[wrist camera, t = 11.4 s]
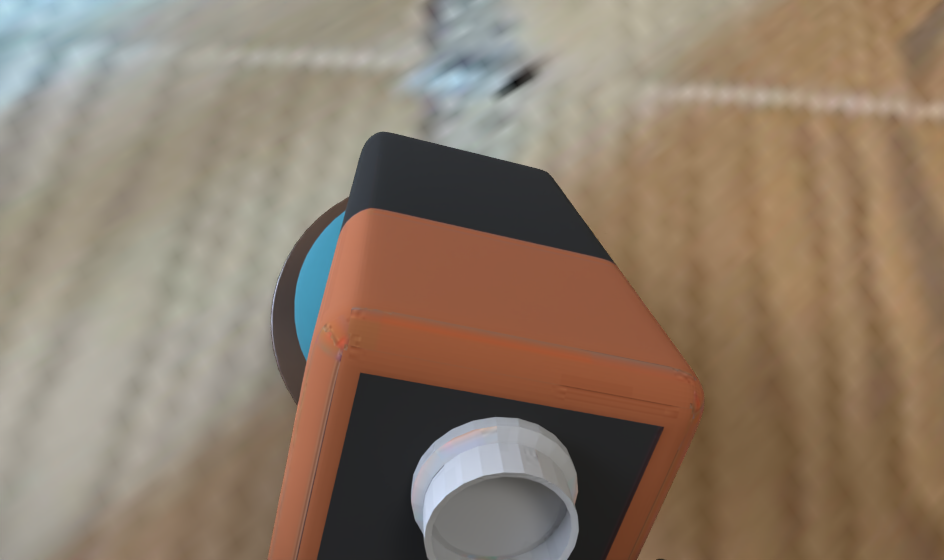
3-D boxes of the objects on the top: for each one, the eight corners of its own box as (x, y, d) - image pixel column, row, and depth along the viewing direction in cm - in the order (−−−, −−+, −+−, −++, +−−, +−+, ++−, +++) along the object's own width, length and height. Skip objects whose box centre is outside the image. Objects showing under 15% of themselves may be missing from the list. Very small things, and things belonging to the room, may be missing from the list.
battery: (312, 387, 17) (205, 853, 8) (366, 122, 15) (300, 360, 6) (480, 416, 18) (555, 870, 9) (558, 168, 15) (778, 446, 6)
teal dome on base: (552, 462, 23) (599, 465, 16) (279, 463, 22) (210, 467, 16) (544, 207, 25) (582, 115, 18) (295, 204, 25) (241, 110, 18)
